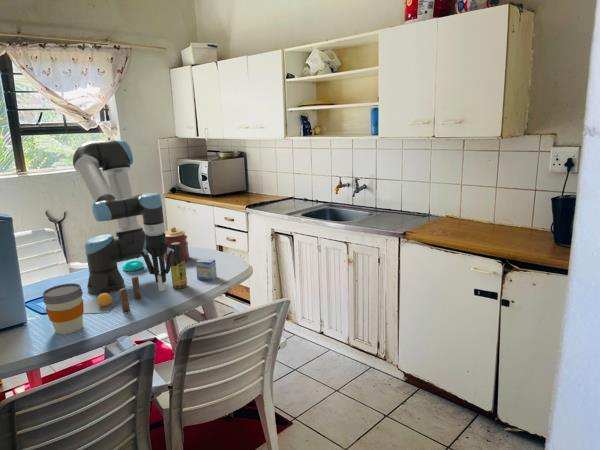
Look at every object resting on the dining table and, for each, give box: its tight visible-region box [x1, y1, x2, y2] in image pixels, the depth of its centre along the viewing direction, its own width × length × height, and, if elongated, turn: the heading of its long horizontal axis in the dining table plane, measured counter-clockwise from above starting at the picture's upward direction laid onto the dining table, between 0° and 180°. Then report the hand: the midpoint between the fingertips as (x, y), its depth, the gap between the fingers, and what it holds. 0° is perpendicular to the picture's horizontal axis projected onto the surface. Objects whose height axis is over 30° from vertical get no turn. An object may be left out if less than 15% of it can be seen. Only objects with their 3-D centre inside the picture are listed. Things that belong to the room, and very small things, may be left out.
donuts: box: [122, 259, 144, 272], centre depth 223 cm, size 10×10×10 cm
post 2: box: [131, 276, 142, 300], centre depth 185 cm, size 3×3×9 cm
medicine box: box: [195, 258, 218, 281], centre depth 204 cm, size 8×4×9 cm, turn 76°
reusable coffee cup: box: [42, 283, 84, 335], centre depth 160 cm, size 13×12×15 cm
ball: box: [96, 293, 113, 307], centre depth 179 cm, size 6×6×6 cm
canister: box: [164, 226, 190, 264], centre depth 232 cm, size 13×13×18 cm
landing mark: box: [83, 297, 121, 315], centre depth 180 cm, size 14×14×1 cm
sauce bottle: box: [170, 242, 188, 290], centre depth 194 cm, size 7×6×20 cm
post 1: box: [119, 287, 131, 314], centre depth 173 cm, size 3×3×9 cm
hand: (162, 289), depth 179 cm, fingers closed
